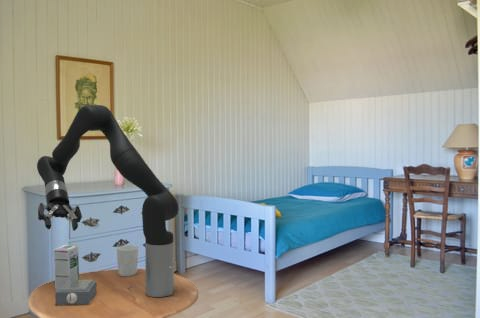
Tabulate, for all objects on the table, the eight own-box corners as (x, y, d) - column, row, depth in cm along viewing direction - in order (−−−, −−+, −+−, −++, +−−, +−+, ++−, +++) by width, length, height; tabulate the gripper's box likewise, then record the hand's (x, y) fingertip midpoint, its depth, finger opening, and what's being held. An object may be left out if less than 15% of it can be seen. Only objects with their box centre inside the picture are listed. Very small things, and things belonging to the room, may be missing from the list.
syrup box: (70, 291, 148) (69, 249, 147) (54, 290, 149) (53, 248, 148) (79, 286, 154) (79, 245, 153) (64, 284, 155) (63, 244, 154)
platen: (92, 281, 146) (92, 279, 146) (86, 290, 138) (86, 288, 138) (67, 282, 145) (67, 279, 145) (59, 290, 137) (59, 288, 137)
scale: (96, 292, 147) (96, 281, 147) (88, 305, 137) (88, 292, 137) (65, 293, 146) (65, 281, 146) (54, 305, 136) (54, 292, 136)
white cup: (117, 271, 171) (117, 245, 170) (138, 269, 173) (138, 244, 172) (116, 277, 163) (116, 251, 162) (138, 276, 165) (138, 249, 164)
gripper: (39, 186, 156) (43, 219, 145) (79, 190, 165) (86, 222, 154) (33, 201, 159) (37, 235, 149) (73, 204, 168) (79, 236, 157)
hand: (62, 228), depth 151 cm, fingers open, 8 cm apart
